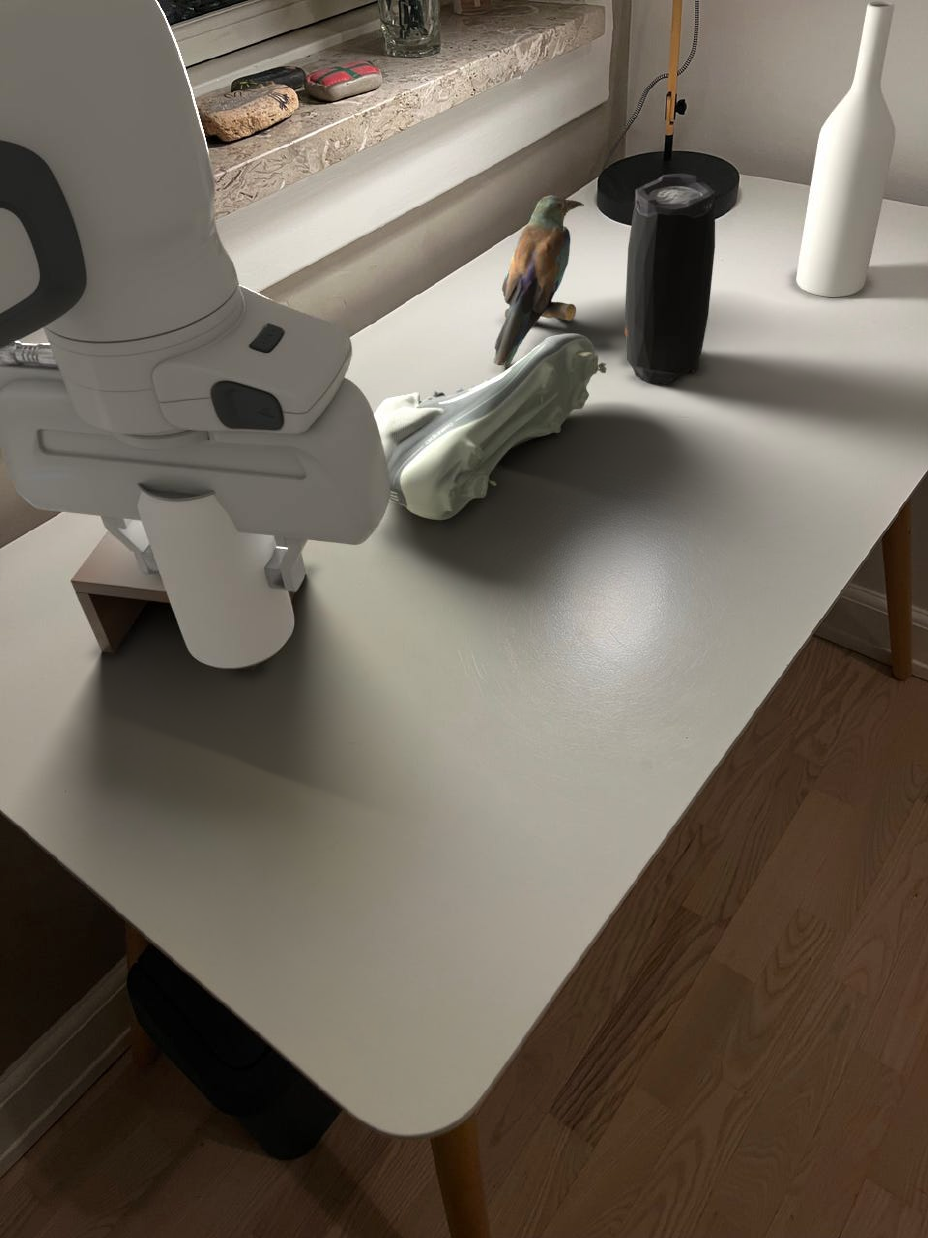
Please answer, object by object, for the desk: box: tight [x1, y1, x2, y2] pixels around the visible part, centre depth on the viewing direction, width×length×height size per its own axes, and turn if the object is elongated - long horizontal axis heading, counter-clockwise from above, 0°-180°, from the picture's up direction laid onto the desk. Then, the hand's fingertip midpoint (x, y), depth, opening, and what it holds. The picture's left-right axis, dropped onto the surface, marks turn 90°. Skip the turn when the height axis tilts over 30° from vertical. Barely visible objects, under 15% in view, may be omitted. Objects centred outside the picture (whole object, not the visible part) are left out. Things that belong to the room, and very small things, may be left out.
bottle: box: [795, 0, 896, 298], centre depth 115 cm, size 8×8×30 cm
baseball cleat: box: [374, 333, 607, 521], centre depth 102 cm, size 10×29×15 cm
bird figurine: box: [493, 194, 585, 369], centre depth 118 cm, size 13×10×20 cm
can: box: [137, 483, 295, 670], centre depth 57 cm, size 6×6×12 cm
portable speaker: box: [624, 173, 717, 385], centre depth 107 cm, size 9×9×20 cm
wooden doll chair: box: [70, 530, 296, 672], centre depth 85 cm, size 14×12×14 cm
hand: (224, 575), depth 58 cm, fingers closed on can, 6 cm apart
